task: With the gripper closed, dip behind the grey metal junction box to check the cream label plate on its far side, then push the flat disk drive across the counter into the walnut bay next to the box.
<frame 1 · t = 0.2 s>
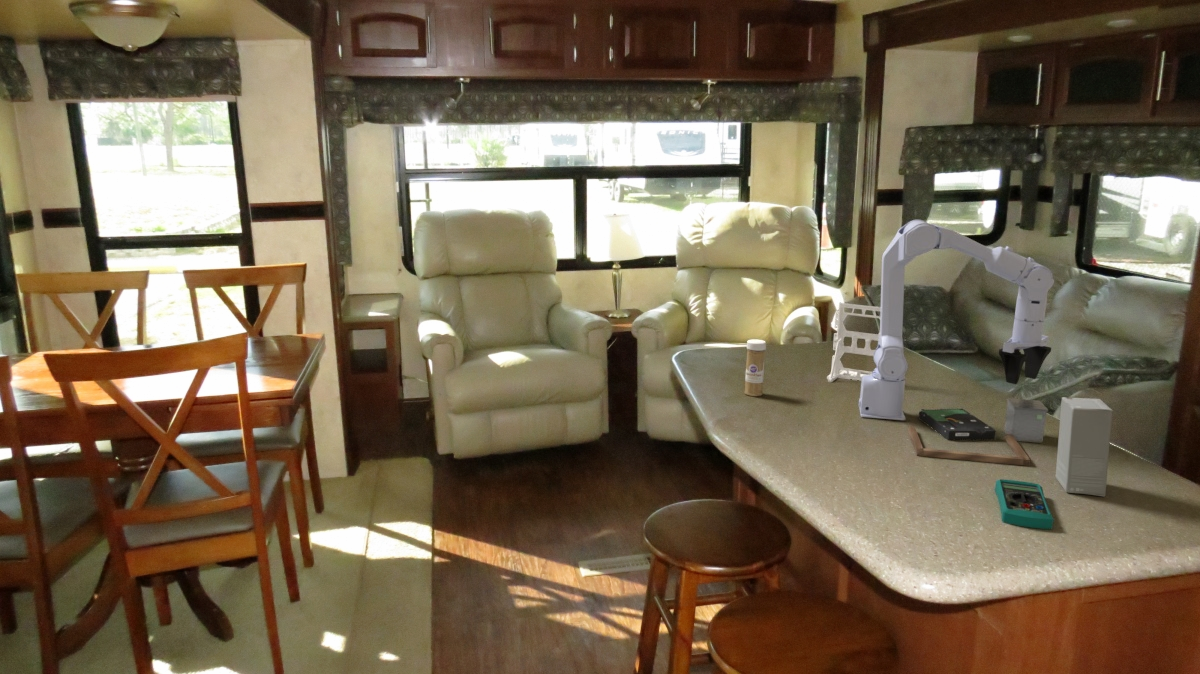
hand: (1021, 380, 179), 10 cm above the counter, tool pointing down, fingers open, 7 cm apart
bay: (965, 447, 167), on the counter
digital multimeter: (1021, 512, 139), on the counter
white open rack frame: (859, 380, 215), on the counter
disk drive: (954, 431, 178), on the counter
skincare box: (1076, 487, 148), on the counter
junction box: (1022, 436, 173), on the counter
sprinkles bottle: (753, 394, 202), on the counter
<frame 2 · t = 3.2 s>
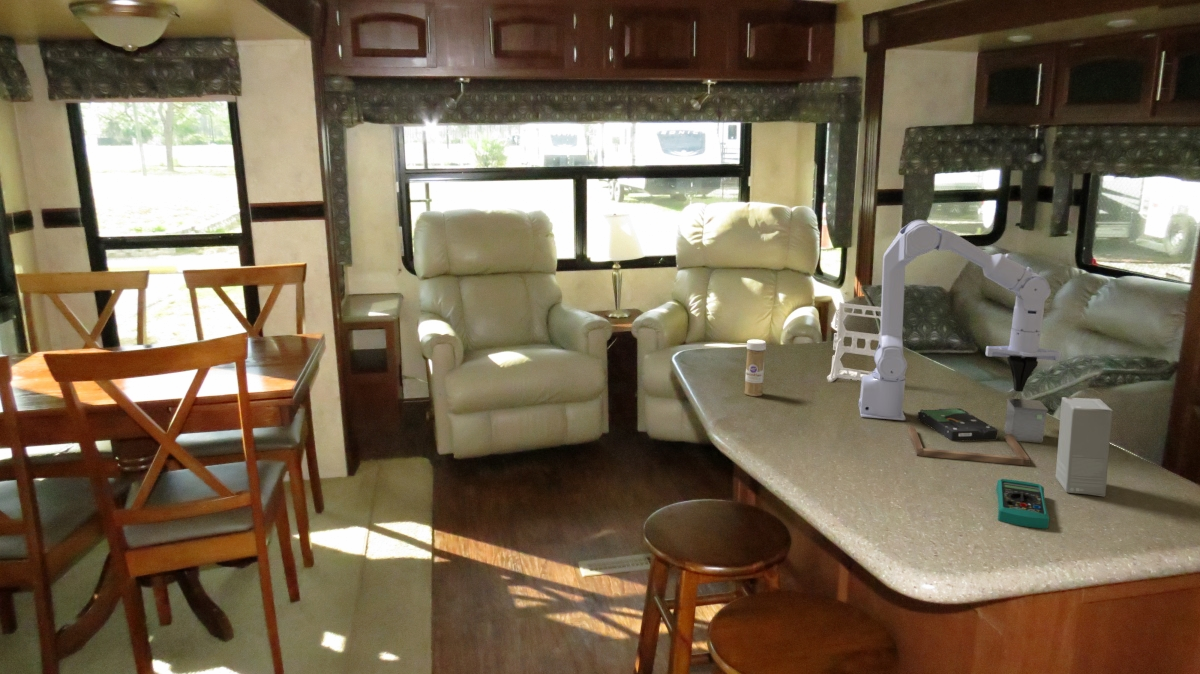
hand: (1018, 390, 179), 8 cm above the counter, tool pointing down, fingers closed
nothing on the counter moved.
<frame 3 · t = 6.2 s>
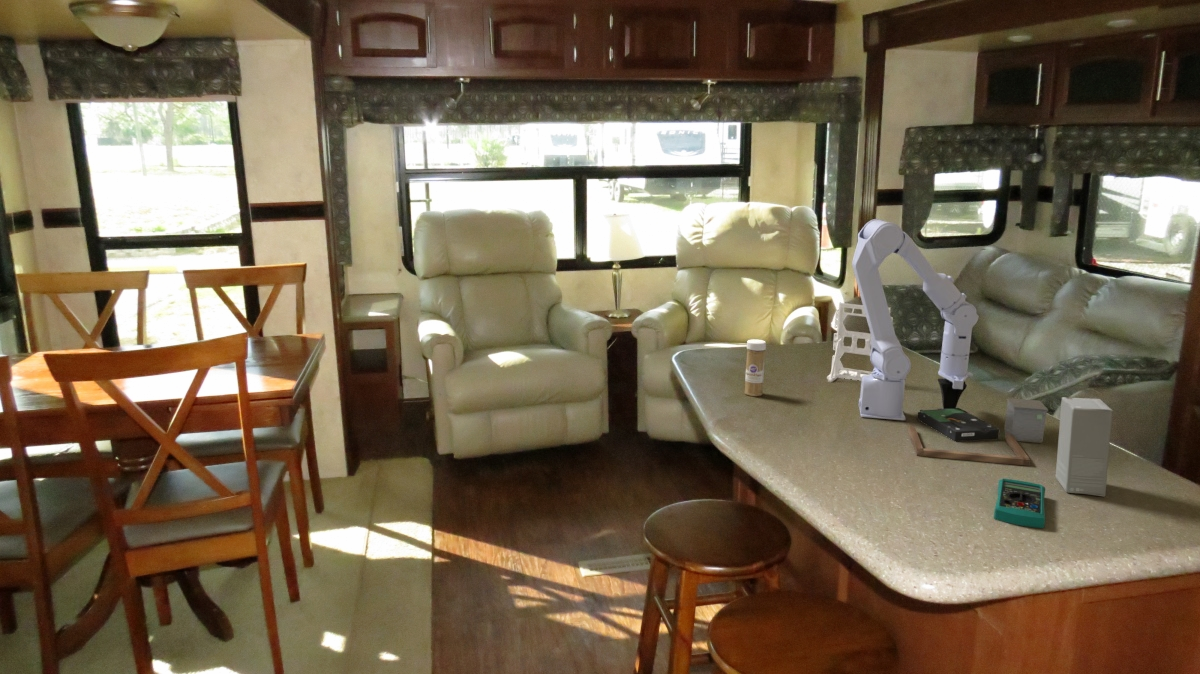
hand: (948, 411, 187), 1 cm above the counter, tool pointing down, fingers closed
disk drive: (956, 431, 178), on the counter, touching gripper
everything else where it was.
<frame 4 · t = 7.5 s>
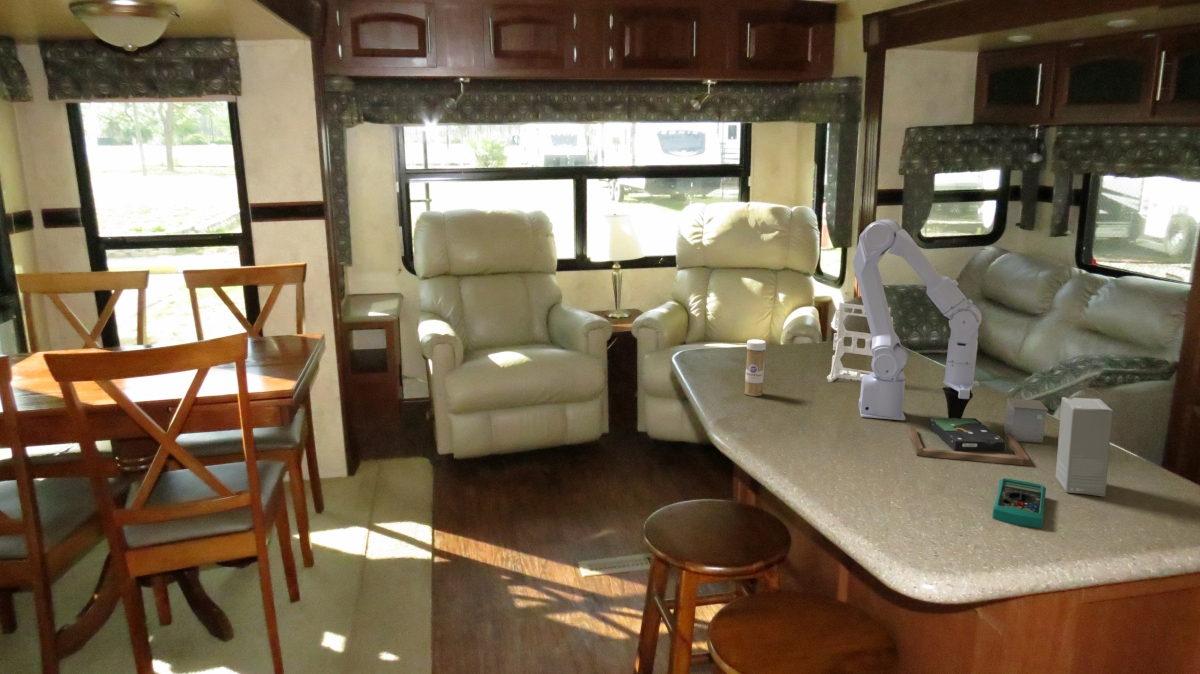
hand: (954, 421, 180), 1 cm above the counter, tool pointing down, fingers closed
disk drive: (964, 441, 172), on the counter
everything else where it was.
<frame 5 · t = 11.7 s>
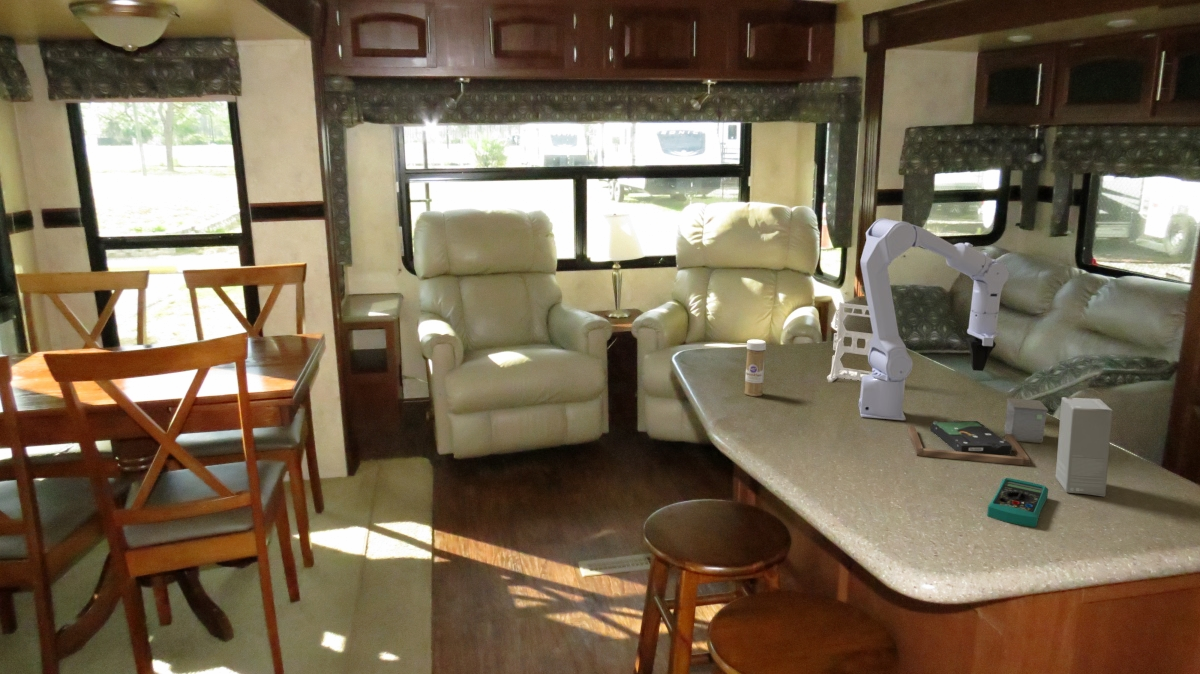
hand: (977, 369, 188), 10 cm above the counter, tool pointing down, fingers closed
disk drive: (968, 445, 170), on the counter
at the end: disk drive inside the target area (2.0 cm from its centre), on the counter; disk drive moved 8.6 cm from its start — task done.
